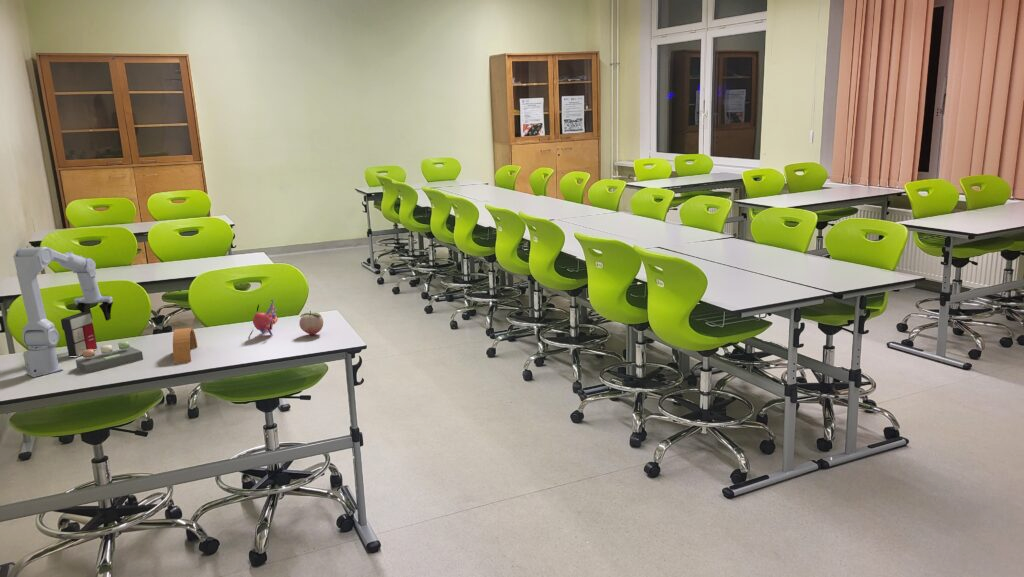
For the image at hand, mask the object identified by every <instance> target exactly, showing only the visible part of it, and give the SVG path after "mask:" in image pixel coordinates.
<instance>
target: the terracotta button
mask: <svg viewBox="0 0 1024 577" xmlns="http://www.w3.org/2000/svg"><path fill="white" fill-rule="evenodd" d="M82 353H83V355H82V358H87V357H92V356H95V354H96V353H95V350H94V349H88V350H84V351H82Z"/></svg>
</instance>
